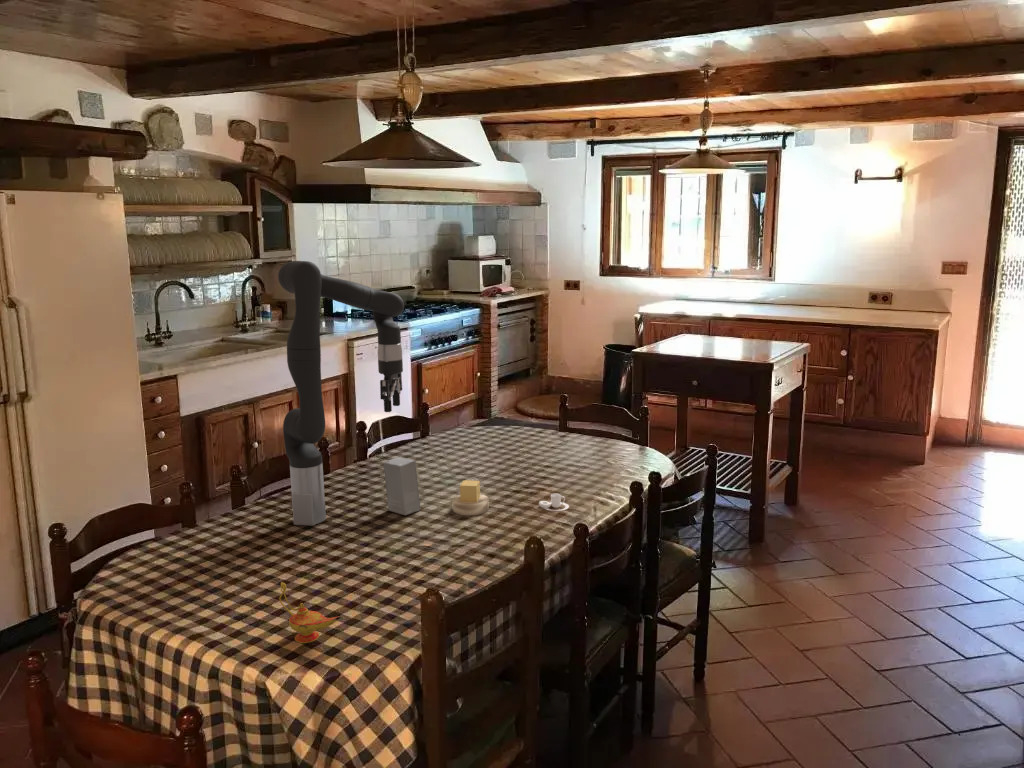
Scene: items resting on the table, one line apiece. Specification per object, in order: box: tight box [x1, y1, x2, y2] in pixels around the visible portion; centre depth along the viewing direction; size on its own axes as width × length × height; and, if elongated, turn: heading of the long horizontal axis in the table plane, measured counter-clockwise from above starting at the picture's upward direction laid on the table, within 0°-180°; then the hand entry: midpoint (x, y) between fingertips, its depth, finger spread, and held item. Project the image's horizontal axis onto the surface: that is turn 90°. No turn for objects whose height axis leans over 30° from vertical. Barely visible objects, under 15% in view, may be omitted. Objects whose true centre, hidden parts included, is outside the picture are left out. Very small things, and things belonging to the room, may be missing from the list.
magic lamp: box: [278, 581, 345, 644], centre depth 171 cm, size 7×18×11 cm, turn 60°
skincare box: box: [382, 456, 421, 516], centre depth 246 cm, size 8×7×16 cm
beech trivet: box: [451, 493, 490, 516], centre depth 248 cm, size 11×11×3 cm
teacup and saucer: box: [538, 492, 570, 512], centre depth 249 cm, size 9×8×4 cm
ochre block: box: [459, 479, 481, 502], centre depth 247 cm, size 5×5×5 cm
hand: (392, 408), depth 257 cm, fingers open, 8 cm apart
